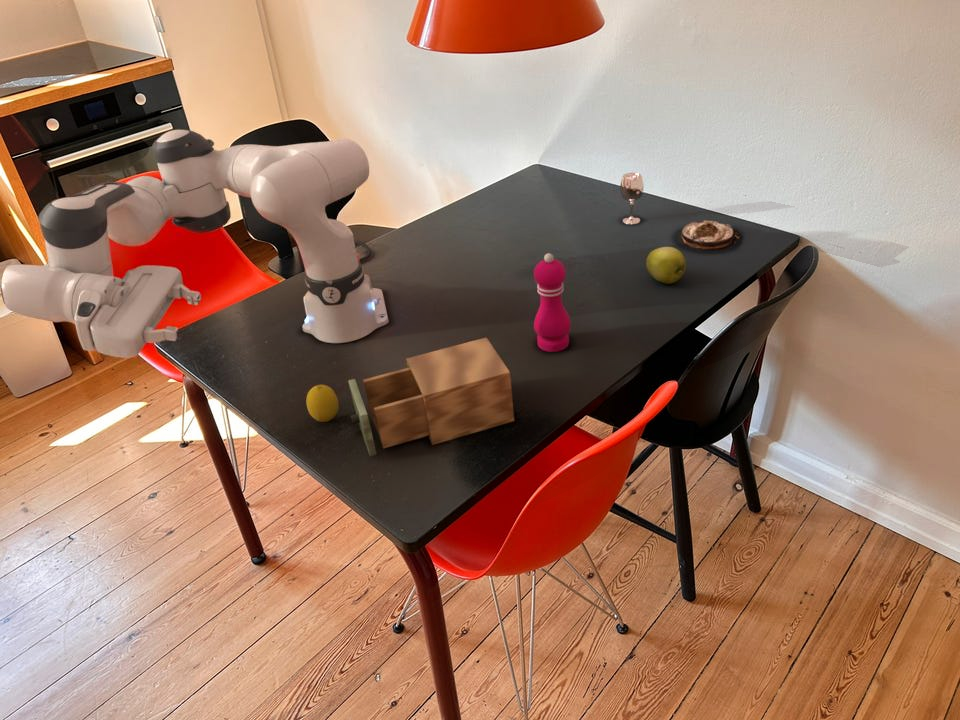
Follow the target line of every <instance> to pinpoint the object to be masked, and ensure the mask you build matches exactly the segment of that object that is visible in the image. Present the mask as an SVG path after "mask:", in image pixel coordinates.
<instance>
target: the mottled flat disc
mask: <svg viewBox="0 0 960 720" xmlns="http://www.w3.org/2000/svg"><path fill="white" fill-rule="evenodd" d="M680 235H681V236H680V238H681V239H682V244H686V245H687V246H689V247H691V248H693V249H695V250H698V251H717V250H722V249H726V248H727V247H728V246H731V245H732V243H733V244H736V242H737V241H734V239H735V238H736V239H738V240H739V239H740V236H737V234H736V232H735V228H734V227H732V226H731V225H730V224H728V223H726V224H724V222H720V223H719V222H718V221H714V220H705V219H704V220H702V221H697V222H696V221H692V222H689V223H688V224H686V225H685V226H684V227H683V228H682V230H681V232H680Z"/></svg>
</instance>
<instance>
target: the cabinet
mask: <svg viewBox="0 0 960 720" xmlns="http://www.w3.org/2000/svg"><path fill="white" fill-rule="evenodd" d="M405 359H406V360H405V361H406V365H407V367H406V368H410V370H411V372H412V374H413V376H414V379H415V381H416V383H417V385H418V387H419V389H420V391H421V393H422V395H423V398H424V404H425V410H426V416H427V422H428V427H429V433H430V435H428V436H427V437H428V439H429V441H430V444H431V445H432V446H434V445H437V444H440V443H444V442H448V441H451V440H454V439H457V438H461V437H464V436H469V435H471V434H474V433H478V432H483V431H485V430H489V429H492V428H495V427H499V426H503V425H505V424H509V423H512V422H515V412H514V402H513V391H512V390H513V389H512V379H511V372H510V370H509V369H508V367H507V365H506V364H505V363H504V361H503V360H502V358H501V357H500V355H499V354H498V352H497V351H496V350H495V348H494V346H493V345H492V344H491V342H490V340H489V339H488V337H483V338H479V339H475V340H472V341H471V340H470V341H468V342H464V343H460V344H456V345H453V346H449V347H445V348H440V349H437V350H434V351H430V352H426V353H422V354H417V355H415V356H411V357H406V358H405Z"/></svg>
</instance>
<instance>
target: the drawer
mask: <svg viewBox="0 0 960 720" xmlns="http://www.w3.org/2000/svg"><path fill="white" fill-rule="evenodd" d="M362 381H363V385H364V389H365V394H366V398H367V402H368V407H369V411H370V417H371V419H372V422H373V425H374V427H375V430H376V433H377V435H378V439H379V442H380V445H381V446H382V449H387V448H390V447H393V446H397V445H401V444H404V443H407V442H411V441H414V440H418V439H422V438H425V437H428V435H430V433H429V427H428V422H427V416H426V410H425V404H424V398H423V395H422V393H421V391H420V389H419V387H418V385H417V383H416V381H415V379H414V376H413V374H412V372H411V370H410V368H408V367H405V368H402V369H397V370H394V371H390V372H387V373H384V374H380V375H379V374H378V375H375V376H372V377H367V378H364V379H363V380H362ZM347 382H348V386H349V390H350V394H351V398H352V404H353V407H354V411H355V414H351V415H350V419H351V422H352V424H353V425H356V424H358V425H359V426H358V427H359V429H360V432H361V434H362V438H363V441H364V443H365V446H366V449H367V452H368V455H369V457H373V456H376V455H377V449H376V445H375V441H374V437H373V432H372V428H371V424H370V419H369V414H368V412H367V409H366V405H365V403H364V400H363V398H362V397H363V396H362V395H361V393H360V392H361V391H360V389H359V386H358V383H357V380H356V378H352V379H349V380H348V381H347Z"/></svg>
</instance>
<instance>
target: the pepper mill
mask: <svg viewBox="0 0 960 720" xmlns="http://www.w3.org/2000/svg"><path fill="white" fill-rule="evenodd" d="M566 273H567V272H566V268H565V265H564V264H563V263H562V261H559V260H558V259H555V258H554V254H552V253H550V252H548V253H545V254H544V257H543V260H541V261H539V262H538V263H537V264H536V265H535V267H534V270H533V278H534V281H535V282H536V283H537V284H536V286H537V287H536V288H537V293H538V295H539V297H540V304H539V307H538V310H537V313H536V315H535V317H534V321H533V329H534V332H535V333H536V335H537V338H536V341H537V346H538V348H539V349H540V350H542V351H544V352H548V353H557V352H561V351H563V350H565V349H567V347H568V346H569V344H570V336H569V332H570V331H571V327H572V326H571V325H572V324H571V319H570V318H571V317H570V315H569V314H568V312H567V310H566V309H565V307H564V305H563V302H562V293H563V292H564V289H565V288H564V281H565V279H566Z"/></svg>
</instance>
